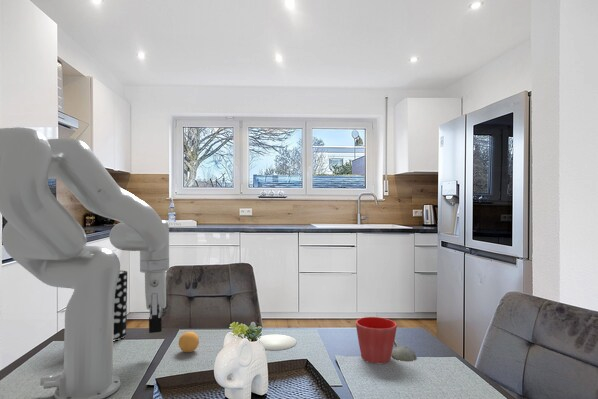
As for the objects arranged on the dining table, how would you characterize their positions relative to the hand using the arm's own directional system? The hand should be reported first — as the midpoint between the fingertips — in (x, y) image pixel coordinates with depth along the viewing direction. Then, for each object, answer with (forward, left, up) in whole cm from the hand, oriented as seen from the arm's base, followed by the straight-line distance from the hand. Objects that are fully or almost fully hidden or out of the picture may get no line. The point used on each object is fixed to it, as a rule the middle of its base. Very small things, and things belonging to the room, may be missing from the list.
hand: (155, 331), depth 105 cm
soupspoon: (+67, -15, -7) cm, 69 cm away
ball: (+9, -1, -4) cm, 10 cm away
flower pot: (+57, -21, -7) cm, 61 cm away
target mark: (+34, -1, -6) cm, 34 cm away
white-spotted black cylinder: (-13, +18, -7) cm, 23 cm away
